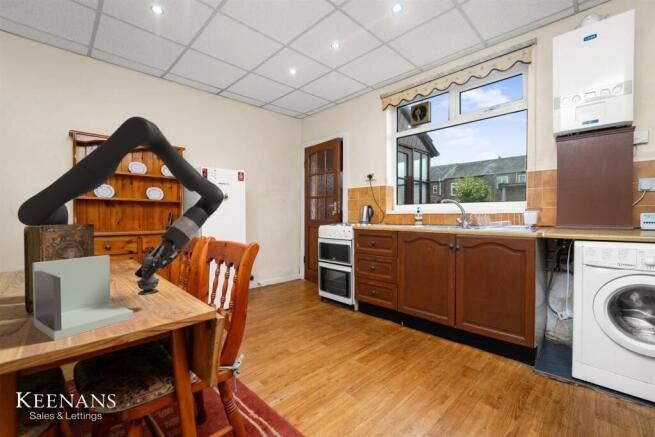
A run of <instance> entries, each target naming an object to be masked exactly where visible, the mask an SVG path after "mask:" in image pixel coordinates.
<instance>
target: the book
mask: <svg viewBox="0 0 655 437" xmlns="http://www.w3.org/2000/svg"><path fill="white" fill-rule="evenodd" d="M94 227H95V224H94V223H71V224H69V223H68V224H67V225H43V226H27V225H25V226H24V228H23V258H24V259H23V263H24V264H23V266H24V269H23V270H24V272H23V273H24V308H25V313H27V314H34V303H33V263H36V262H46V261H55V260H65V259H74V258H84V257H93V256H95V228H94Z"/></svg>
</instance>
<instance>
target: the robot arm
mask: <svg viewBox="0 0 655 437" xmlns="http://www.w3.org/2000/svg"><path fill="white" fill-rule="evenodd" d="M139 147H143V148H145V149H147V150H149V151H150V152H151V153H152V154H154V155H155V156H156V157H157V158H158V159H160V160H161V162H163V164H164V165H165V166H166V168H167V170H168V171H169V172H170V174H171V175H172V176H173V177H174V178H175V179H176V180H177V181H178V182H179V183H180V184H181V185H182V186H183V187H184V188H185V189H186V190H188V191H189V192H192V193H194V192H195V193H197V194H198V195H199V196H200V197H199V199H198V200H197V202H196V203H195V204H194V205H192V206H190V207H189V208H188V209H187V210H186V211H185V212H184V213H182V215H181V216H180V217H179V218H177V219H176V220H174V222H173V223H172V224H171V225H170V227H168V228H167V229H166V230H165V232H163V234H162V235H161V236H160V240H161V241H162V242H161V243H159V244H158V245H157V246H156V247H154V246H150V247H149V249H148V251H147V252H146V253H145V255H144V256H143V257H145V256H147V253H149V255H150V256H152V257H153V259H154V262H153V263H152V266H149V268H148V269H147V270H146V271H145V272H144V273H143V274H142V269H141V268H142V265H140V267H139V268H138V269H137V270H136V271H135V272H134V275H135V277H137V278H138V279H141V278H142V277H143V278H144V279H146V280H149V279H150V278H151V276H152V275H153V274H154V275H155V273H156V272H158V271H159V270H161V269H162V270H164V269H165V268H167V267H168V266H169V265H170V264H171V263H172V262H174V261H175V260H176V259H177V258H178V257H179V256H180V254H179V253H178V252H181V251H183V250H184V248H186V246H187V245H188V244H189V243H190V241H192V240H193V238H194V237H195V235H196V234H197V233H198V231H199V230H200V229H201V228H202V227H203V225H204V224H205V223H206V222H207V220H208V219H209V218H211V216H212V215H214V213H215V212H217V211H218V209H219V208H220V206H221V205H222V203H223V201H224V198H225V197H224V193H223V191H222V189H221V188H220V187H219V186H218V185H216V184H215V183H214V182H212V181H211V180H209V179H208V178H206V177H204V176H203V175H202V174H201V173H200V172H199V171H198V170H197V169H196V168H195V167H194V166H193V165H192V164H191V163H190V162H188V160H186V158H184V157H183V156H182V155H181V154H180V153H179V152H178V151H177V150H176V149H175V147H174V146H173V145H172V144H171V142H170V141H169V140H168V138H166V136H165V135H164V134H163V132H162V131H161V130H160V128H159V126H157V124H156V123H154V122H152V121H150V120H148V119H147V118H145V117H142V116H132V117H129V118H128V119H126V120H125V121H123V123H122V124H121V125H119V127H118V128H117V129H115V131H114V132H113V133H112V134H111V135H110V136H109V137H108V138H106V140H105V141H104V142H102V143H101V144H100V145H98V146H97V147H96V148H95V149H93V150H92V151H91V152H90V153H88V154H87V155H86V156H83V158H82V159H80V160H79V161H78V162H77V163H75V164H74V165H73V166H72V167H71V168H70V169H69V170H67V171H66V172H65V173H64V174H62V175H61V176H60V177H59V178H57V179H56V180H55V181H53V182H52V183H51V184H49V185H48V186H47V187H45V188H44V189H42V190H41V191H39V192H37V193H35V194H33V196H31V197H29V198H28V199H26V200H25V201H24V202H23V203H21V205H20V207H19V208H18V211H17V219H18V221H19V222H20V223H21V224H23V225H25V226H43V225H67V224H69V211H68V210H69V209H68V208H67V206H66V204H67V203H68V202H70V201H72V200H75V199H77V198H80V197H81V196H84V195H87V194H89V193H91V192H93V191H95V190H97V189H99V188H100V187H101V186H103V185H104V184H105V183H106V182H107V181H109V180H110V179H111V178H112V177H113V176H114V175H115V174H116V172H117V170H118V168H119V167H120V165H121V163H122V161H123V159H124V158H125V157H127V155H129V154H130V153H131V152H133V151H134V150H136V149H137V148H139Z"/></svg>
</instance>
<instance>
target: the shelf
mask: <svg viewBox="0 0 655 437" xmlns="http://www.w3.org/2000/svg"><path fill="white" fill-rule="evenodd" d="M110 263H111V262H110V254H105V255H104V254H103V255H94V256H93V257H84V258H74V259H65V260H55V261H46V262H36V263H33V303H34V313H33V326H34V327H35V328H36V329H39V330H40V331H41V332H42V333H44V334H45V335H47V336H48V337H49V338H50V339H52V340H53V341H58V340H62V339H65V338H69V337H72V336H75V335H79V334H82V333H86V332H89V331H93V330H98V329H100V328H104V327H107V326H112V325H115V324H119V323H122V322H125V321H128V320H129V321H130V320H133V319H135V318H134V310H132V309H130V308H126V307H124V306H121V305H119V304H116V303H114V302H111V273H110V272H111V270H110V269H111V268H110V267H111V266H110Z"/></svg>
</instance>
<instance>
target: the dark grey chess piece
mask: <svg viewBox="0 0 655 437" xmlns="http://www.w3.org/2000/svg"><path fill="white" fill-rule="evenodd" d="M146 253H147V252H146ZM144 256H145V255H144ZM144 256H143V257H142V259H141V263H142V264H141V266H142V268H141V269H142V274H143V273H144V272H145V271H146V270H147V269H148V268H149V266H152V263H153V262H154V259H153V257H152V256H150V255H149V253H147V256H145V257H144ZM159 282H160V278H156V275H155V273H154V274H153V275H152V276H151V278H150V279H149V280H146V279H144V278H143V277H142V278H140V279H138V280H137V281H136V282H135V283H136V284H137V287H138V289H140V291H139V292H137V295H139V296H149V295H155V294H157V293H159V290H158V289H156V288H157V287H158V285H159Z"/></svg>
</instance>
